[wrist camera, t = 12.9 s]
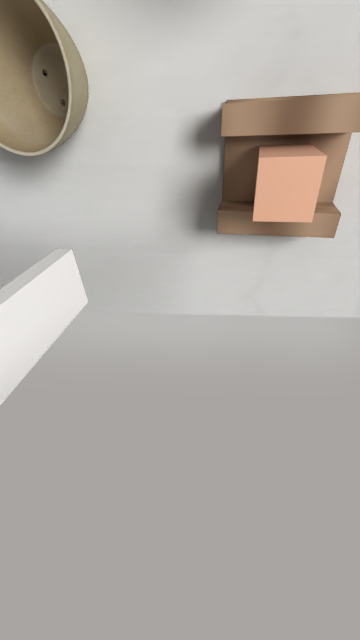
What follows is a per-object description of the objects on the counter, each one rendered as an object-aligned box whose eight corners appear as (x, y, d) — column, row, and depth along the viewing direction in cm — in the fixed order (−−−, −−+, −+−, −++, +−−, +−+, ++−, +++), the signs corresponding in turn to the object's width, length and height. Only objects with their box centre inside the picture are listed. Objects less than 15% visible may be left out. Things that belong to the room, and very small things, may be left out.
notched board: (221, 221, 29) (216, 235, 26) (227, 100, 23) (222, 99, 20) (324, 225, 27) (333, 240, 24) (360, 92, 21) (378, 89, 18)
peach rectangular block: (259, 145, 24) (259, 157, 18) (309, 143, 23) (327, 155, 17) (254, 194, 26) (252, 221, 20) (299, 194, 25) (312, 222, 19)
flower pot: (135, 85, 24) (97, 78, 18) (75, 169, 29) (32, 183, 24) (41, -44, 21) (-40, -100, 15) (-7, 77, 26) (-80, 69, 20)
